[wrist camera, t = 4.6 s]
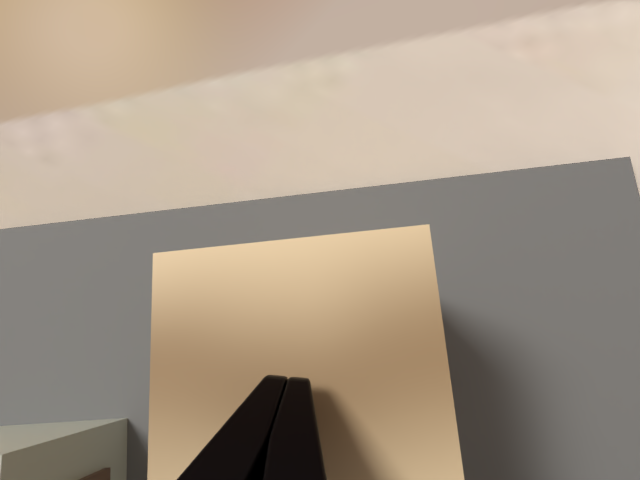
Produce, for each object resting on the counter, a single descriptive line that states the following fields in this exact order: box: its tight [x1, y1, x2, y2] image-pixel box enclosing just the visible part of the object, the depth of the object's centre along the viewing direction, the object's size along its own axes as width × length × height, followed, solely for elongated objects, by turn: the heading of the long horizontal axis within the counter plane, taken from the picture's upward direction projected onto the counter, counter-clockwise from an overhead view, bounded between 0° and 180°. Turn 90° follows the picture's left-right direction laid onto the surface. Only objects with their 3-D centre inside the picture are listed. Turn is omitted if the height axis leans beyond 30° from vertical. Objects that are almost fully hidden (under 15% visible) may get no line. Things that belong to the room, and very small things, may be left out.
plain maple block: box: [147, 224, 464, 480], centre depth 13 cm, size 6×6×8 cm
